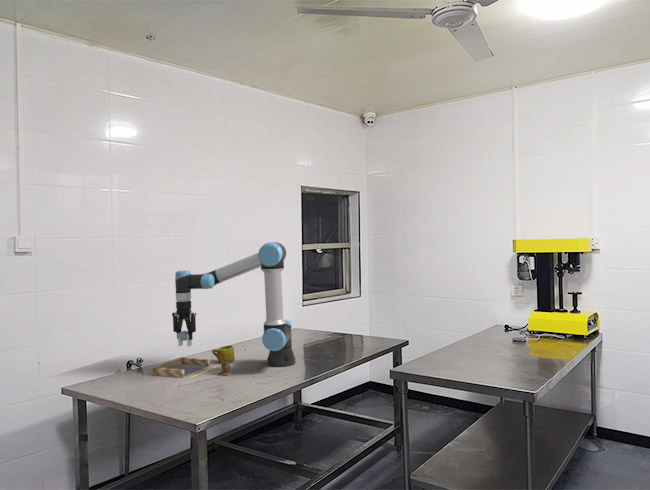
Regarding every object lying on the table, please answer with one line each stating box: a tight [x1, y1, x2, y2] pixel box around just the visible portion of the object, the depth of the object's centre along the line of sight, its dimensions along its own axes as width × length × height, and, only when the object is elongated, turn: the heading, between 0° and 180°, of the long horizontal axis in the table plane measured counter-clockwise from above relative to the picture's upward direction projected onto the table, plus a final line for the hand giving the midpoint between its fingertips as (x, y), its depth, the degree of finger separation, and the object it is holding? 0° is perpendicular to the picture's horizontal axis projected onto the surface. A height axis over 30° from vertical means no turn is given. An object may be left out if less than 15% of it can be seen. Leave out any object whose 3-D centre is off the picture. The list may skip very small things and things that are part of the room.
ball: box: [180, 330, 188, 342], centre depth 254 cm, size 5×5×5 cm
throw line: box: [188, 365, 218, 379], centre depth 250 cm, size 1×24×1 cm, turn 159°
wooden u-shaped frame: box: [151, 356, 211, 378], centre depth 255 cm, size 18×23×4 cm
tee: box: [217, 360, 235, 377], centre depth 245 cm, size 6×6×6 cm
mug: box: [211, 345, 235, 364], centre depth 271 cm, size 12×10×10 cm
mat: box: [170, 364, 208, 377], centre depth 255 cm, size 16×20×1 cm
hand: (185, 345), depth 254 cm, fingers closed on ball, 5 cm apart
